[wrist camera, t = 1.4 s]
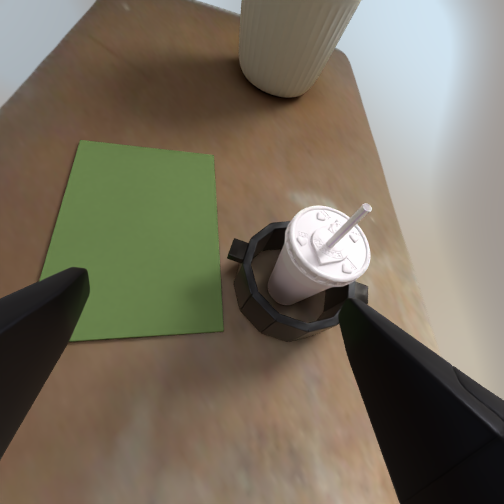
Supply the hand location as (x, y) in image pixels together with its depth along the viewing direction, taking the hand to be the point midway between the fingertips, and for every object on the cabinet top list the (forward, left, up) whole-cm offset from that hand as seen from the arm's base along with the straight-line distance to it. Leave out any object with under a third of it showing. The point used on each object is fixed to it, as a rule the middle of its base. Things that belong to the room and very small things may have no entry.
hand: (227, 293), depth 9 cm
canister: (+37, -28, -15) cm, 49 cm away
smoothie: (+2, -10, -15) cm, 18 cm away
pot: (+2, -10, -15) cm, 18 cm away
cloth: (+14, +1, -15) cm, 20 cm away
